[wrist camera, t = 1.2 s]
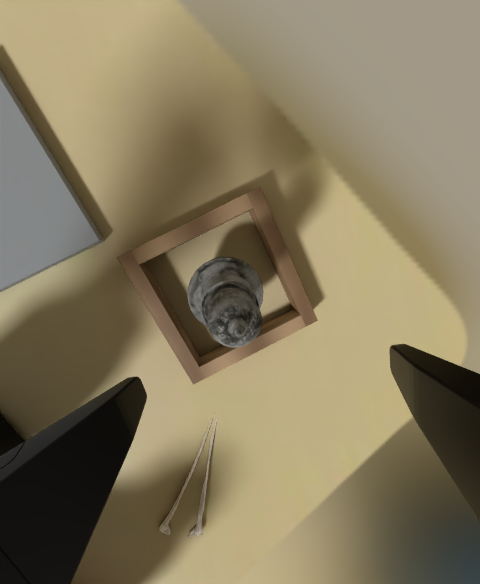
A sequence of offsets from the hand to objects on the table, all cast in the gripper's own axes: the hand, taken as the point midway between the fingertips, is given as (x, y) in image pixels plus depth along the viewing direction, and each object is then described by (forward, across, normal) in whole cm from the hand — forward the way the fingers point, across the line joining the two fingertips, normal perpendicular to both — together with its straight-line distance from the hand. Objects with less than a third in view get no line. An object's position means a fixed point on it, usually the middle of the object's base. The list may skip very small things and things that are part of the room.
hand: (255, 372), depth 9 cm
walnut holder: (+14, +4, +1) cm, 15 cm away
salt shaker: (+14, +4, +1) cm, 15 cm away
